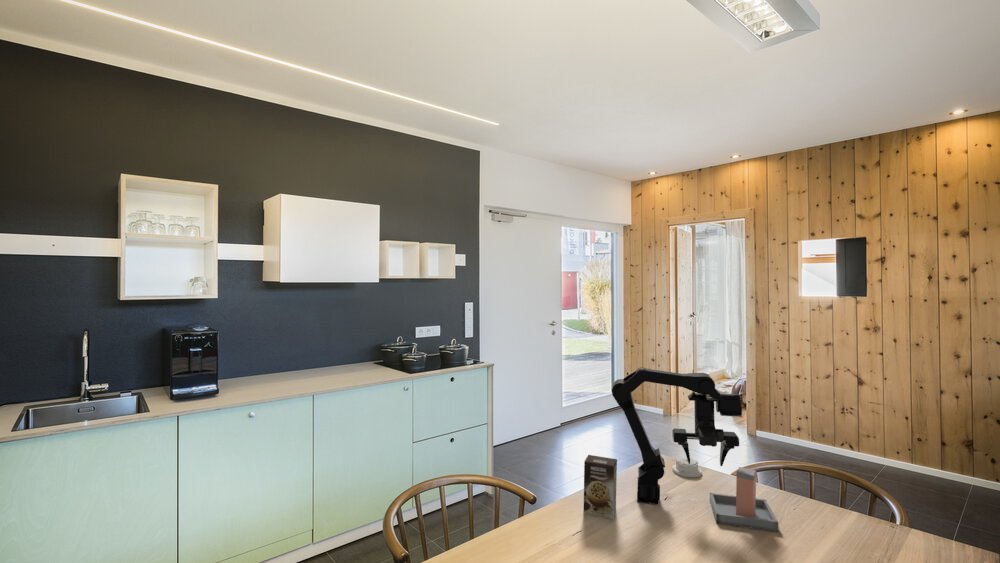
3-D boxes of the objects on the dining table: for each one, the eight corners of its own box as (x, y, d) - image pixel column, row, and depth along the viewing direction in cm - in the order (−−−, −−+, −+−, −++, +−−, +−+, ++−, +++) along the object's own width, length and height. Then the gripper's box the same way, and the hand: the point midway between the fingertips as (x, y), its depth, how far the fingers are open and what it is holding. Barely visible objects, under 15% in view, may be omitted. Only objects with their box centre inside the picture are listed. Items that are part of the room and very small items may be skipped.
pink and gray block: (736, 515, 143) (736, 471, 143) (738, 509, 147) (739, 466, 146) (752, 519, 140) (753, 475, 140) (755, 513, 144) (756, 470, 144)
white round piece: (705, 479, 171) (696, 467, 181) (705, 466, 171) (696, 456, 180) (676, 477, 172) (669, 466, 182) (676, 465, 172) (669, 455, 181)
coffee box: (582, 514, 145) (583, 461, 145) (587, 504, 151) (587, 453, 151) (613, 520, 141) (614, 465, 141) (616, 510, 147) (617, 458, 147)
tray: (716, 523, 140) (716, 513, 140) (709, 501, 153) (709, 492, 153) (778, 532, 135) (778, 522, 135) (765, 508, 149) (765, 499, 149)
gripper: (675, 420, 144) (675, 472, 144) (743, 424, 140) (743, 477, 140) (671, 410, 155) (672, 458, 155) (735, 413, 150) (735, 463, 150)
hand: (705, 464), depth 150 cm, fingers open, 9 cm apart
